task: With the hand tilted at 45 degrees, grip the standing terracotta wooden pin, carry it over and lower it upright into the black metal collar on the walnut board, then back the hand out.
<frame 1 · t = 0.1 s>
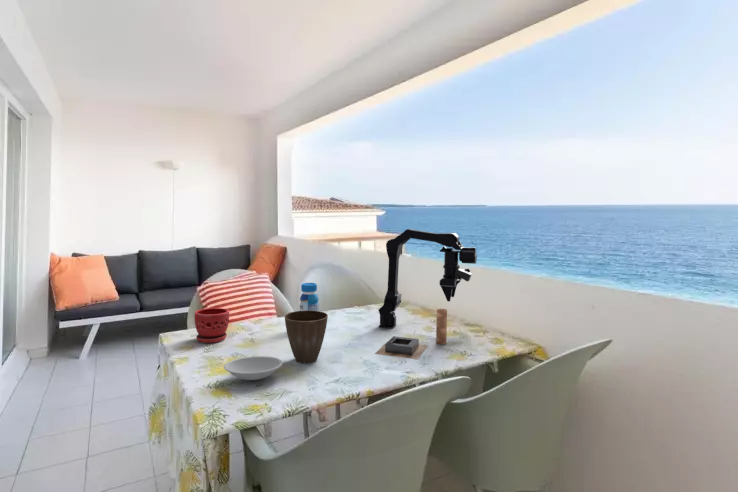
hand: (450, 299, 182), 15 cm above the table, tool pointing down, fingers open, 9 cm apart
dish: (253, 380, 133), on the table
plant pot 2: (212, 340, 173), on the table
terracotta pin: (441, 345, 166), on the table
beverage bottle: (309, 329, 189), on the table
plant pot: (306, 360, 150), on the table
walnut board: (402, 352, 158), on the table
black collar: (402, 349, 158), resting on walnut board
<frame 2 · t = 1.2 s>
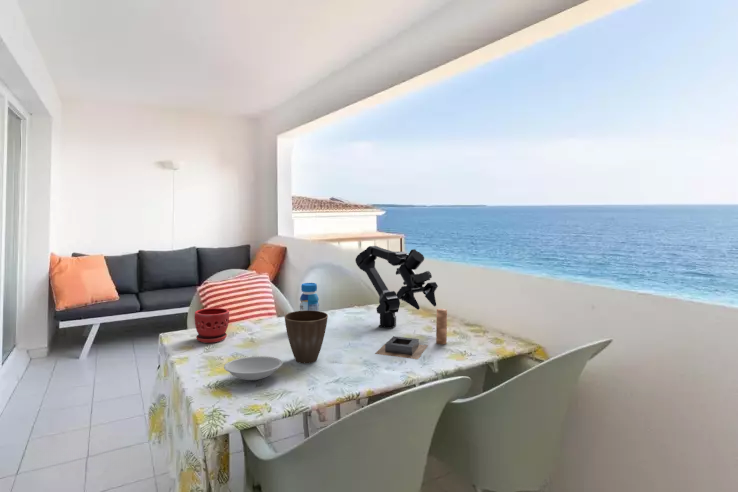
hand: (427, 307, 172), 13 cm above the table, tool tilted 45°, fingers open, 9 cm apart
nothing on the table moved.
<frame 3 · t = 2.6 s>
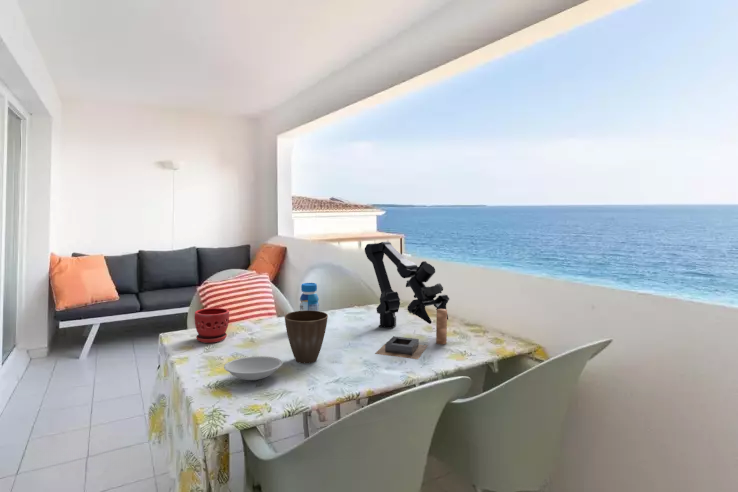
hand: (439, 321, 166), 9 cm above the table, tool tilted 45°, fingers open, 9 cm apart
nothing on the table moved.
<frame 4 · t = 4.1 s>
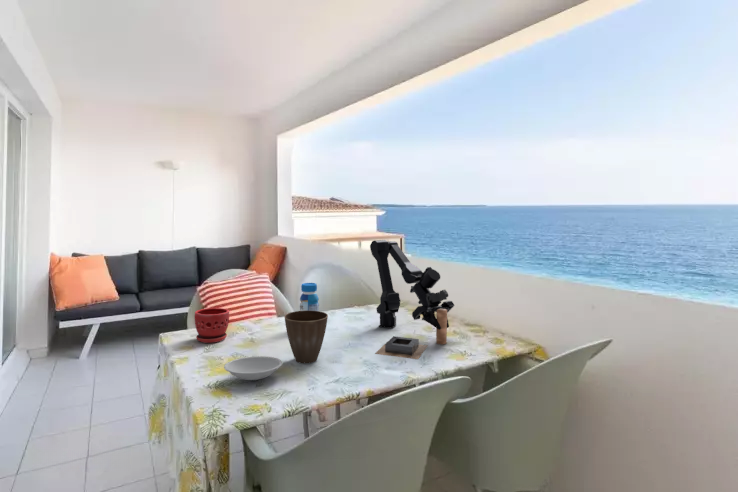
hand: (444, 328, 165), 7 cm above the table, tool tilted 45°, fingers closed on terracotta pin, 4 cm apart
terracotta pin: (441, 345, 166), on the table, touching gripper
everything else where it was.
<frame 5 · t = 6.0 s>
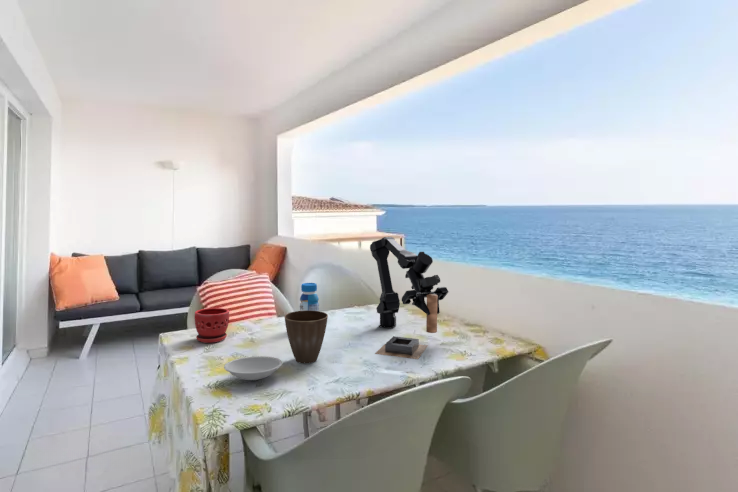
hand: (433, 314, 161), 14 cm above the table, tool tilted 45°, fingers closed on terracotta pin, 4 cm apart
terracotta pin: (431, 331, 162), point 6 cm above the table, touching gripper
everything else where it was.
when the fingers open (9 cm above the table, at t = 8.3 s): terracotta pin drops 1 cm, resting on walnut board.
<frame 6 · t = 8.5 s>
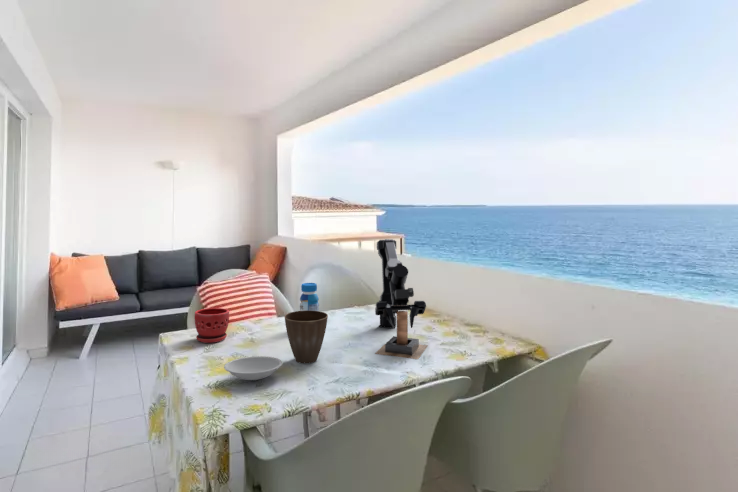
hand: (403, 327, 156), 10 cm above the table, tool tilted 45°, fingers open, 6 cm apart
terracotta pin: (402, 349, 158), point 1 cm above the table, touching walnut board
everything else where it was.
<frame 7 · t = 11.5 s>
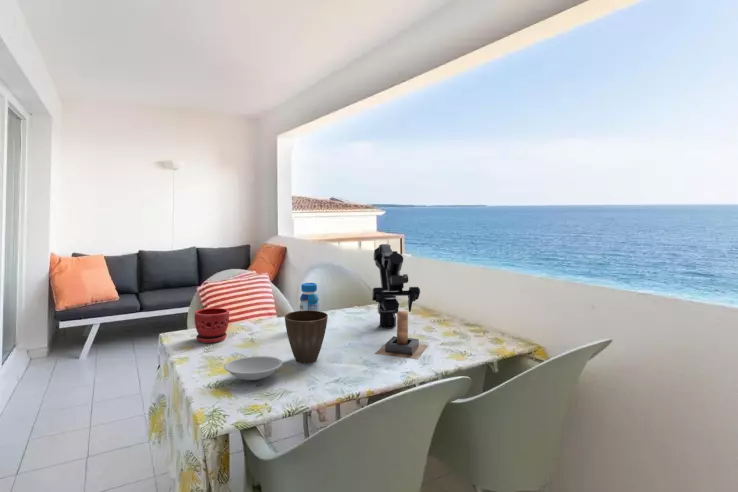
hand: (398, 311, 165), 13 cm above the table, tool tilted 45°, fingers open, 9 cm apart
nothing on the table moved.
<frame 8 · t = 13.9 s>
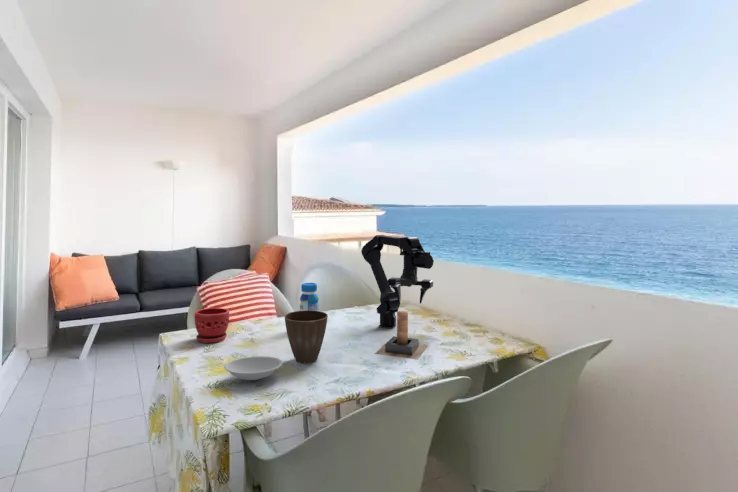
hand: (409, 302, 182), 13 cm above the table, tool pointing down, fingers open, 9 cm apart
nothing on the table moved.
at the end: terracotta pin 0.0 cm off-centre on the walnut board, point 1.0 cm above the walnut board's base; terracotta pin tilted 0°; the gripper is holding nothing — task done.
